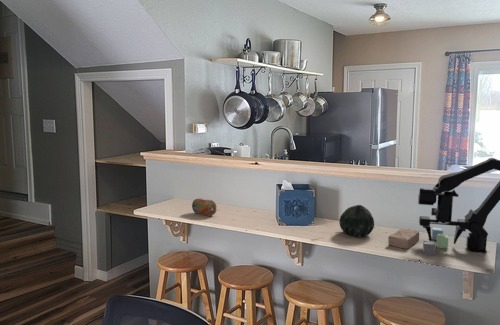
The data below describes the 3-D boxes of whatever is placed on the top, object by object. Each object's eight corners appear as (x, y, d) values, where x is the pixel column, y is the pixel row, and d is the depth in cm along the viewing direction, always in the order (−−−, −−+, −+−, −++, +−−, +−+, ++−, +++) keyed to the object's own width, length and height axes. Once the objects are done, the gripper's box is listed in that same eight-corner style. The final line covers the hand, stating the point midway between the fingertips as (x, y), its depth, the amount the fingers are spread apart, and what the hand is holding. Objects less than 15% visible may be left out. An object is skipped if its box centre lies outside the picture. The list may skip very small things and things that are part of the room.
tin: (191, 213, 233) (191, 197, 231) (195, 212, 235) (195, 196, 234) (213, 217, 224) (213, 201, 223) (217, 216, 227) (217, 200, 225)
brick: (400, 236, 196) (401, 226, 195) (419, 240, 191) (420, 229, 190) (387, 246, 183) (387, 235, 182) (407, 250, 178) (408, 239, 177)
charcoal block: (433, 252, 175) (434, 241, 174) (434, 255, 171) (435, 244, 170) (422, 251, 176) (423, 240, 175) (423, 254, 172) (424, 243, 172)
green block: (446, 245, 183) (447, 235, 183) (447, 248, 180) (448, 237, 179) (436, 244, 185) (436, 234, 184) (437, 247, 181) (437, 236, 180)
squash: (348, 215, 209) (342, 196, 198) (379, 221, 201) (375, 202, 191) (339, 240, 201) (332, 222, 191) (371, 247, 194) (366, 228, 183)
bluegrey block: (441, 237, 193) (442, 228, 192) (442, 240, 189) (443, 230, 189) (431, 237, 194) (432, 227, 194) (432, 239, 191) (433, 229, 190)
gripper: (466, 203, 184) (463, 239, 187) (419, 200, 190) (417, 234, 192) (471, 209, 174) (468, 247, 176) (420, 206, 179) (418, 242, 182)
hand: (442, 242), depth 182 cm, fingers open, 9 cm apart
